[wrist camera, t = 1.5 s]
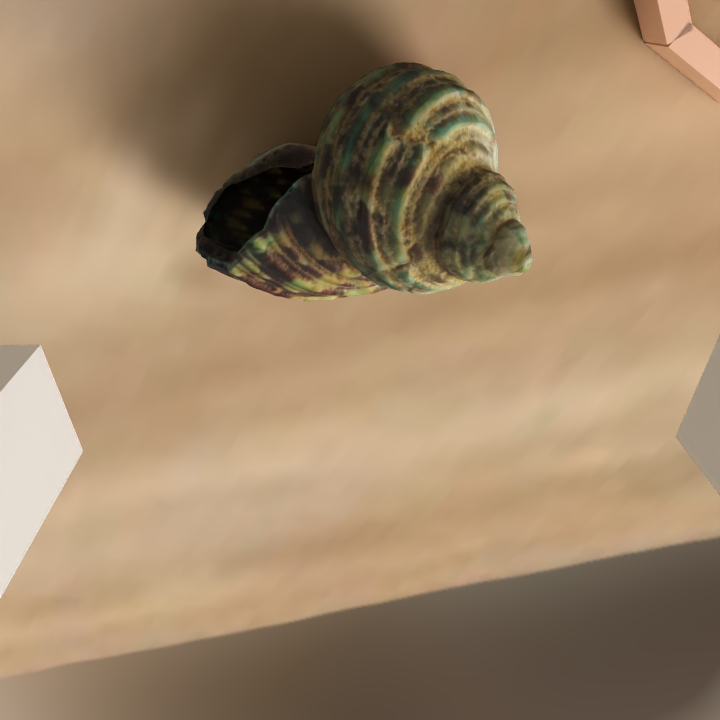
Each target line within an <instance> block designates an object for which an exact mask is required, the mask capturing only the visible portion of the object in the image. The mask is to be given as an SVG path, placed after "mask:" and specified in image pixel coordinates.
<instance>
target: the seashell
mask: <svg viewBox="0 0 720 720" xmlns="http://www.w3.org/2000/svg"><path fill="white" fill-rule="evenodd" d="M497 165H498V148H497V144H496V138H495V131H494V126H493V123H492V119H491V116H490V113H489V111H488V109H487V107H486V106H485V104H484V103H483V102H482V100H481V99H480V97H479V96H478V95H477V94H476V93H474V92H473V91H471V90H468V89H467V88H466V87H465V85H464V84H463V83H462V82H461V81H460V80H459V79H458V78H457V77H456V76H454V75H452V74H449V73H446V72H444V71H440V70H433V69H432V68H430V67H428V66H425V65H422V64H417V63H396V64H393V65H391V66H389V67H384V68H379V69H376V70H374V71H371V72H369V73H367V74H366V75H364V76H363V77H362V78H360V79H359V80H358V81H357V82H356V83H355V84H353V85H352V86H351V87H350V88H348V89H347V90H346V91H345V92H344V93H343V94H342V95H341V96H340V97H339V98H338V100H337V101H336V103H335V104H334V106H333V108H332V109H331V111H330V112H329V114H328V115H327V117H326V120H325V122H324V125H323V127H322V130H321V134H320V137H319V140H318V144H317V146H313V145H307V144H297V143H287V144H281V145H279V146H277V147H274V148H272V149H270V150H269V151H267V152H266V153H263V154H260V155H258V156H257V157H256V158H255V159H254V160H253V161H252V162H251V163H250V164H249V165H248V166H247V167H246V168H245V169H244V170H243V171H241V172H239V173H237V174H234V175H233V176H232V177H231V178H230V179H228V180H227V181H226V182H225V183H224V185H223V188H222V189H220V190H218V191H216V192H215V194H214V196H213V198H212V199H211V201H210V202H209V204H208V206H207V208H206V210H205V211H204V212H203V213H204V217H205V221H206V222H205V223H204V225H203V226H202V228H201V229H200V230H199V232H198V233H197V237H196V251H197V252H198V253H199V254H201V256H202V257H203V258H205V259H206V260H207V266H208V267H210V268H212V269H215V270H217V271H219V272H221V273H223V274H225V275H227V276H229V277H232V278H234V279H237V280H240V281H243V282H246V283H247V284H248V285H249V286H251V287H253V288H256V289H259V290H262V291H265V292H268V293H270V294H273V295H275V296H281V297H285V298H289V299H301V300H305V301H313V300H333V299H335V298H338V297H347V296H351V295H364V294H371V293H376V292H379V291H382V290H385V289H387V288H390V289H394V290H398V291H409V292H411V293H413V294H430V293H434V292H438V291H441V290H447V289H451V288H455V287H457V286H460V285H462V284H464V283H468V282H471V283H483V282H489V281H493V280H496V279H499V278H501V277H504V276H519V275H521V274H522V273H524V272H526V271H528V270H529V269H530V267H531V264H532V261H533V256H532V252H531V247H530V242H529V239H528V235H527V232H526V228H525V227H524V226H523V225H522V224H521V223H520V222H521V220H520V215H519V210H518V205H517V202H516V198H515V193H514V189H513V188H512V187H510V186H509V185H508V184H507V183H506V181H505V179H504V177H502V176H501V175H500V174H498V173H497Z"/></svg>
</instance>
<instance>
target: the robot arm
mask: <svg viewBox="0 0 720 720" xmlns="http://www.w3.org/2000/svg"><path fill="white" fill-rule="evenodd" d="M676 438H677V439H678V441H679V442H680V443H681V445H682V446H683V447H684V449H685V450H686V451H687V453H688V454H689V455H690V457H691V458H692V459H693V461H694V462H695V463H696V465H697V466H698V467H699V469H700V470H701V471H702V473H703V474H704V475H705V477H706V478H707V479H708V481H709V482H710V483H711V485H712V486H713V487H714V489H715V490H716V491H717V493H718V494H719V495H720V335H719V337H718V340H717V342H716V344H715V347H714V349H713V351H712V354H711V356H710V358H709V361H708V363H707V365H706V368H705V370H704V372H703V374H702V377H701V379H700V381H699V384H698V386H697V388H696V391H695V393H694V395H693V398H692V400H691V402H690V404H689V407H688V409H687V411H686V414H685V416H684V418H683V421H682V423H681V425H680V428H679V430H678V432H677V435H676ZM82 452H83V450H82V447H81V445H80V442H79V440H78V437H77V435H76V432H75V430H74V427H73V425H72V422H71V420H70V417H69V415H68V412H67V410H66V407H65V405H64V402H63V400H62V397H61V395H60V392H59V390H58V387H57V385H56V382H55V380H54V377H53V375H52V372H51V370H50V367H49V365H48V362H47V360H46V357H45V355H44V352H43V350H42V347H41V345H5V346H0V598H1V596H2V594H3V593H4V591H5V589H6V587H7V585H8V584H9V582H10V580H11V578H12V577H13V575H14V573H15V571H16V569H17V568H18V566H19V564H20V562H21V561H22V559H23V557H24V555H25V553H26V552H27V550H28V548H29V546H30V545H31V543H32V541H33V539H34V537H35V536H36V534H37V532H38V530H39V529H40V527H41V525H42V523H43V521H44V520H45V518H46V516H47V514H48V513H49V511H50V509H51V507H52V505H53V504H54V502H55V500H56V498H57V496H58V495H59V493H60V491H61V489H62V488H63V486H64V484H65V482H66V480H67V479H68V477H69V475H70V473H71V472H72V470H73V468H74V466H75V464H76V463H77V461H78V459H79V457H80V456H81V454H82Z"/></svg>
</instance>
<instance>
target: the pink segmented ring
mask: <svg viewBox="0 0 720 720" xmlns="http://www.w3.org/2000/svg"><path fill="white" fill-rule="evenodd" d="M634 4H635V8H636V12H637V16H638V20H639V25H640V29H641V33H642V37H643V41H646V43H645V44H646V45H647V46H649V47H650V48H651V49H652V50H654V51H655V52H656V53H657V54H659V55H660V56H661V57H662V58H664V59H665V60H666V61H667V62H669V63H670V64H671V65H672V66H674V67H675V68H676V69H677V70H678V71H680V72H681V73H682V74H683V75H685V76H686V77H687V78H688V79H690V80H691V81H692V82H693V83H695V84H696V85H697V86H698V87H700V88H701V89H702V90H703V91H704V92H706V93H707V94H708V95H709V96H711V97H712V98H713V99H714V100H716V101H717V102H718V103H720V48H719V47H718V46H717V45H715V44H714V43H713V42H712V41H711V40H710V39H708V38H707V37H706V36H705V35H704V34H703V33H701V32H700V31H699V30H698V29H697V28H696V27H694V26H693V25H692V22H691V17H690V11H689V6H688V1H687V0H634Z"/></svg>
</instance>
